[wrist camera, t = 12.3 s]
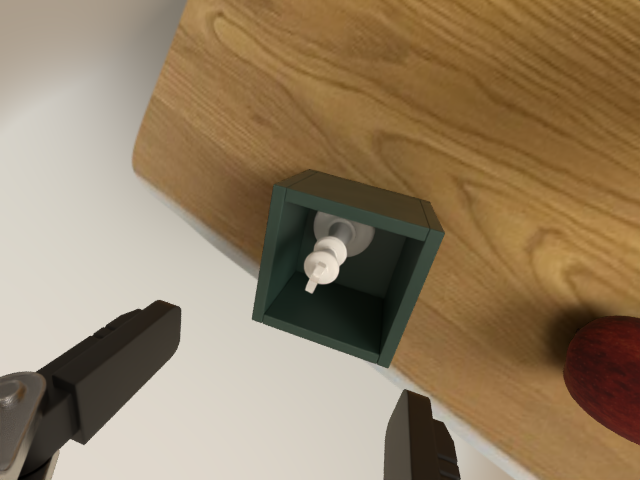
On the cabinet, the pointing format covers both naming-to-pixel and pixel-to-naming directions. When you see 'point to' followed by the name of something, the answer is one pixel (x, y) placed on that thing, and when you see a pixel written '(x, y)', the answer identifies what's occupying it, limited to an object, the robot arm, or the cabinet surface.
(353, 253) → the chess piece
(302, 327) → the bin
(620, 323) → the apple
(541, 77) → the cabinet surface
